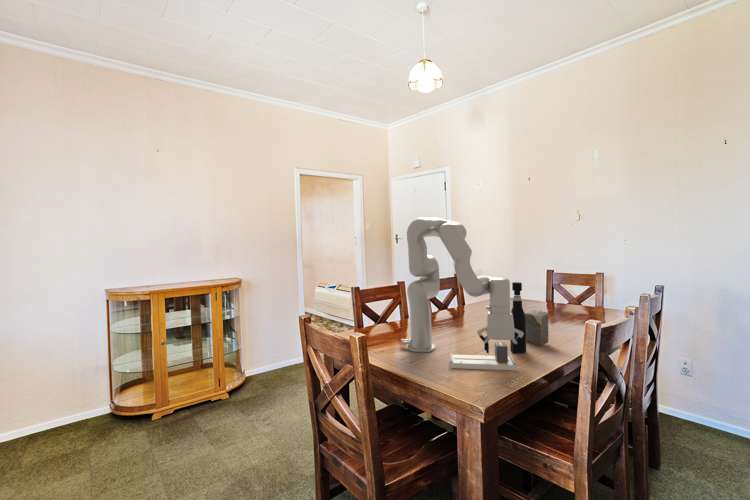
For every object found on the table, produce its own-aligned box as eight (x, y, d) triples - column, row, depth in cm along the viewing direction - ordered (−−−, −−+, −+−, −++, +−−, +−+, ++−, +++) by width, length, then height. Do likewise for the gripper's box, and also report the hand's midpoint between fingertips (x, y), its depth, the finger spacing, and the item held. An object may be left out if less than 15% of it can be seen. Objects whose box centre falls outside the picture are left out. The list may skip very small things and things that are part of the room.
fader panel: (450, 367, 140) (450, 360, 140) (450, 359, 150) (450, 352, 150) (515, 370, 135) (515, 363, 135) (511, 361, 145) (511, 354, 145)
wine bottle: (527, 354, 153) (526, 283, 152) (511, 353, 154) (510, 283, 153) (524, 349, 159) (523, 281, 158) (509, 348, 160) (507, 282, 159)
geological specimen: (521, 340, 172) (520, 309, 171) (530, 338, 174) (530, 308, 174) (540, 346, 162) (539, 313, 162) (549, 344, 165) (549, 312, 164)
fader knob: (496, 361, 138) (496, 346, 138) (494, 356, 144) (494, 341, 144) (507, 362, 137) (507, 346, 137) (505, 357, 143) (505, 342, 143)
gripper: (477, 311, 138) (478, 354, 139) (525, 312, 135) (525, 357, 136) (476, 307, 146) (476, 348, 146) (521, 307, 142) (521, 350, 143)
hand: (500, 352), depth 141 cm, fingers open, 9 cm apart
